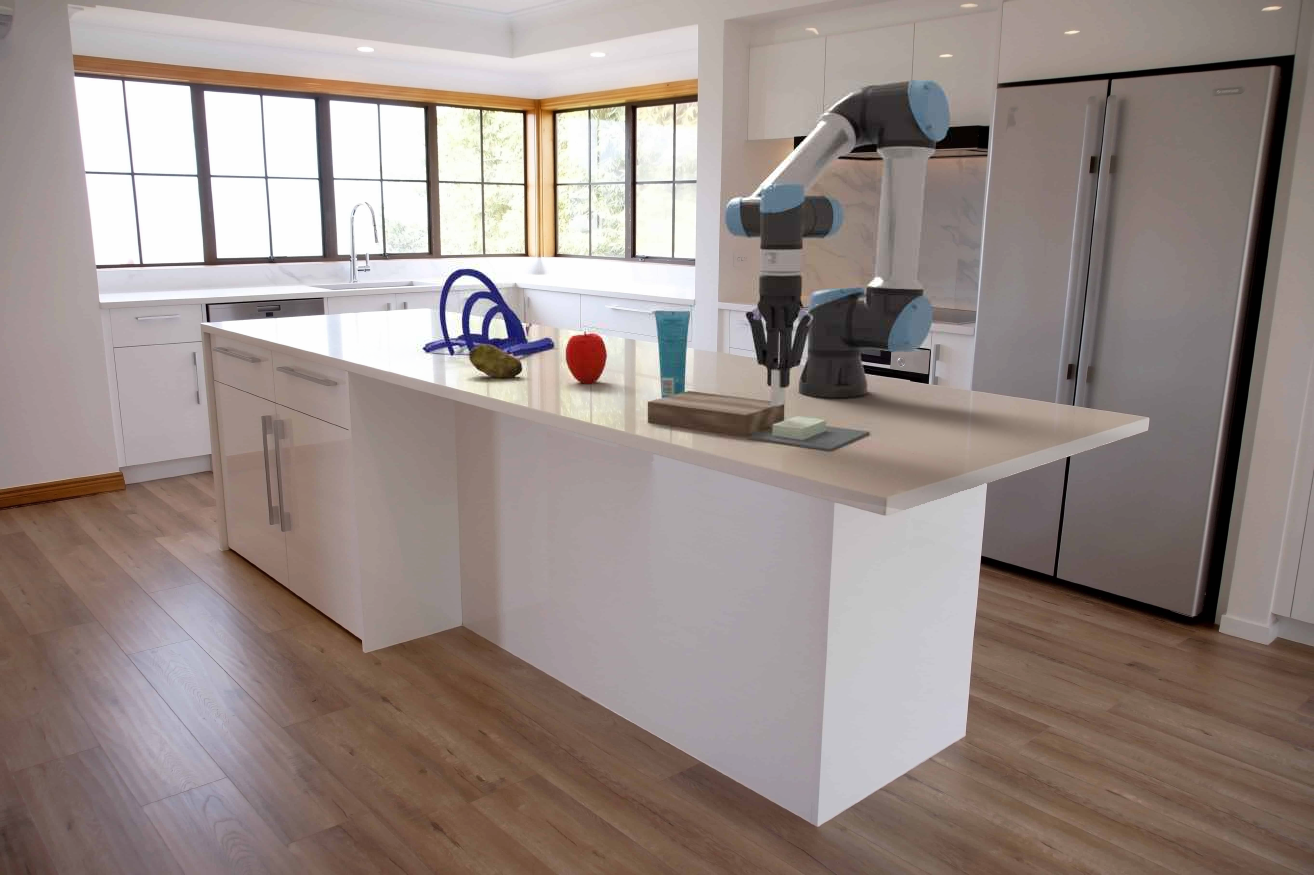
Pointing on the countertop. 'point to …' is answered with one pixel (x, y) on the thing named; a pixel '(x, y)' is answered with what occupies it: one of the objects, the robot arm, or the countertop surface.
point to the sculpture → (486, 322)
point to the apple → (586, 357)
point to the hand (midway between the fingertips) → (777, 404)
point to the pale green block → (799, 428)
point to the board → (715, 413)
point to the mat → (815, 438)
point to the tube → (672, 350)
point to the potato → (494, 361)
